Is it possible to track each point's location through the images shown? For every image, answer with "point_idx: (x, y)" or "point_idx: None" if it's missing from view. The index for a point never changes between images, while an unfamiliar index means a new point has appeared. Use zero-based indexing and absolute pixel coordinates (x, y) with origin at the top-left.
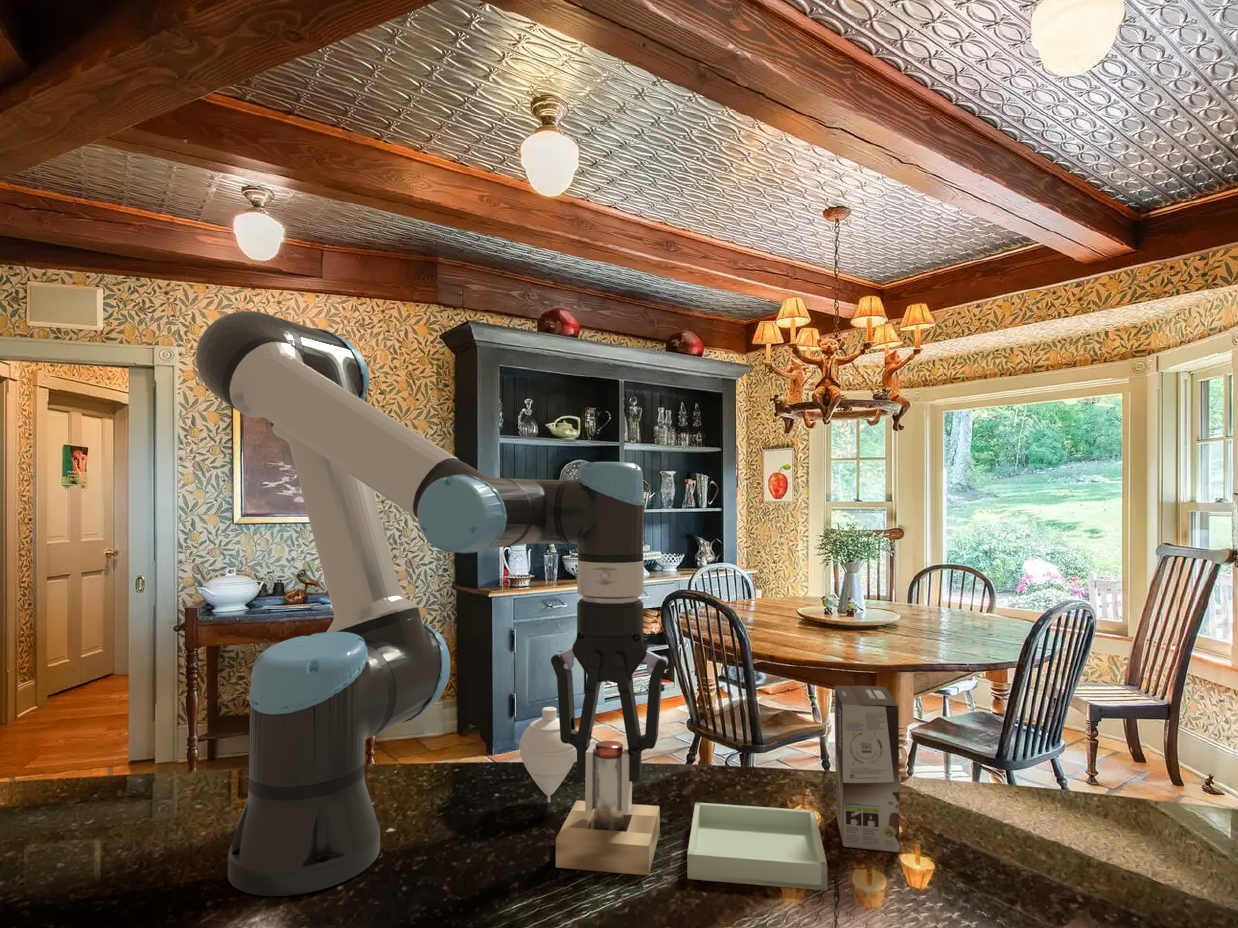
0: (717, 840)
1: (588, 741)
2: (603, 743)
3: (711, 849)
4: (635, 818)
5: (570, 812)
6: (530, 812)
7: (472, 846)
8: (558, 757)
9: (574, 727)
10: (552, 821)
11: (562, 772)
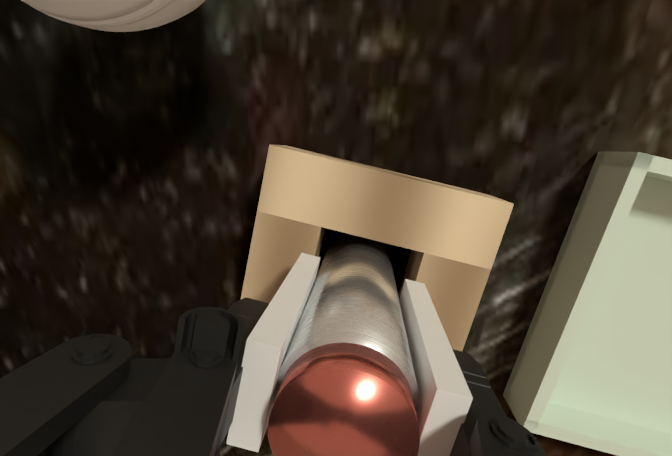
0: (622, 274)
1: (224, 417)
2: (311, 408)
3: (591, 314)
4: (428, 276)
5: (255, 226)
6: (166, 56)
7: (75, 229)
8: (151, 18)
9: (96, 404)
10: (226, 115)
11: (201, 3)
